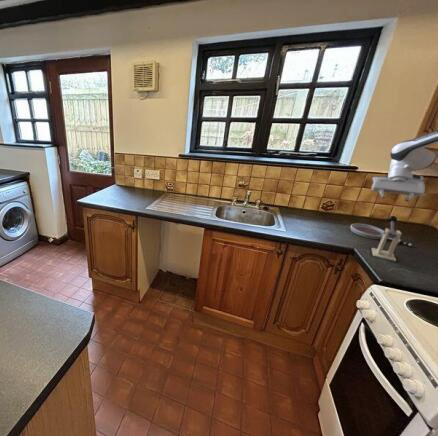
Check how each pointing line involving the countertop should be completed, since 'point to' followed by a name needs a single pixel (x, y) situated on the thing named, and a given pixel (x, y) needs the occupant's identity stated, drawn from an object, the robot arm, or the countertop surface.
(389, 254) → the white stand
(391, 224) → the stove lever
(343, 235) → the countertop surface
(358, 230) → the frying pan
